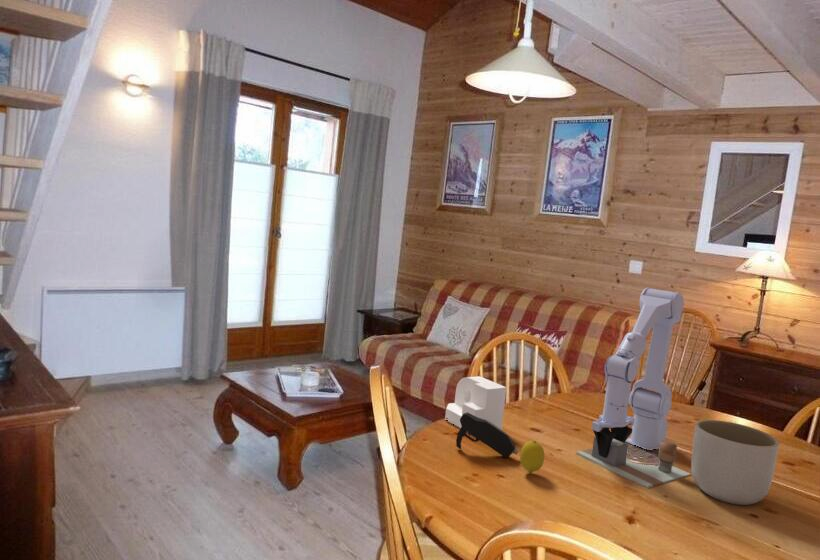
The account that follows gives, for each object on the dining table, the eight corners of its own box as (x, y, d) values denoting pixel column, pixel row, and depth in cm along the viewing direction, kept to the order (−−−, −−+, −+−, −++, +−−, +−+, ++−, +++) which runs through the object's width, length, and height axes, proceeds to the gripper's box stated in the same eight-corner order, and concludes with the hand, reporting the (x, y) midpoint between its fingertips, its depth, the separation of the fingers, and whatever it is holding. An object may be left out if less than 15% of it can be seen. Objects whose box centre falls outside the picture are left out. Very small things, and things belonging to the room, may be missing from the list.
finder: (602, 453, 154) (605, 433, 154) (625, 464, 148) (628, 443, 148) (591, 455, 151) (594, 435, 151) (614, 466, 146) (617, 445, 145)
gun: (500, 478, 146) (522, 446, 144) (446, 441, 148) (467, 409, 146) (501, 473, 149) (522, 442, 147) (447, 437, 151) (468, 405, 149)
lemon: (543, 471, 140) (547, 439, 139) (540, 480, 135) (544, 446, 134) (520, 466, 142) (524, 434, 141) (516, 474, 137) (520, 441, 136)
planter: (768, 521, 125) (779, 453, 124) (681, 495, 134) (691, 431, 133) (769, 494, 140) (779, 433, 138) (690, 472, 149) (699, 414, 147)
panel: (619, 445, 164) (619, 443, 164) (690, 476, 146) (690, 473, 146) (576, 454, 153) (576, 451, 153) (647, 488, 136) (647, 486, 136)
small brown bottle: (662, 466, 149) (666, 439, 149) (675, 472, 146) (680, 445, 146) (653, 468, 147) (657, 441, 147) (667, 474, 144) (671, 447, 143)
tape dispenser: (501, 430, 166) (506, 387, 165) (472, 435, 160) (478, 390, 159) (465, 412, 179) (470, 372, 178) (438, 415, 173) (442, 374, 172)
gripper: (620, 395, 156) (613, 445, 157) (584, 400, 148) (577, 452, 149) (644, 404, 150) (636, 455, 151) (608, 409, 142) (600, 463, 143)
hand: (609, 454), depth 150 cm, fingers closed on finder, 4 cm apart
